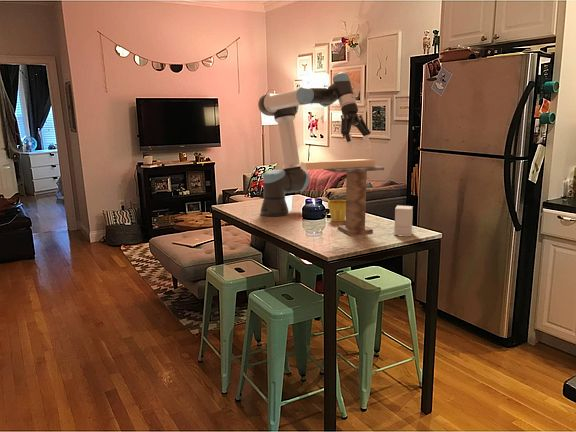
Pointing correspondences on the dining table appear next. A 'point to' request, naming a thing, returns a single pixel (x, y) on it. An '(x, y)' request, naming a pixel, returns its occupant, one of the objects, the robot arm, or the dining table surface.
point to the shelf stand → (355, 199)
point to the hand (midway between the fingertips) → (360, 148)
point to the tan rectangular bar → (337, 164)
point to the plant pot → (337, 210)
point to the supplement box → (403, 220)
